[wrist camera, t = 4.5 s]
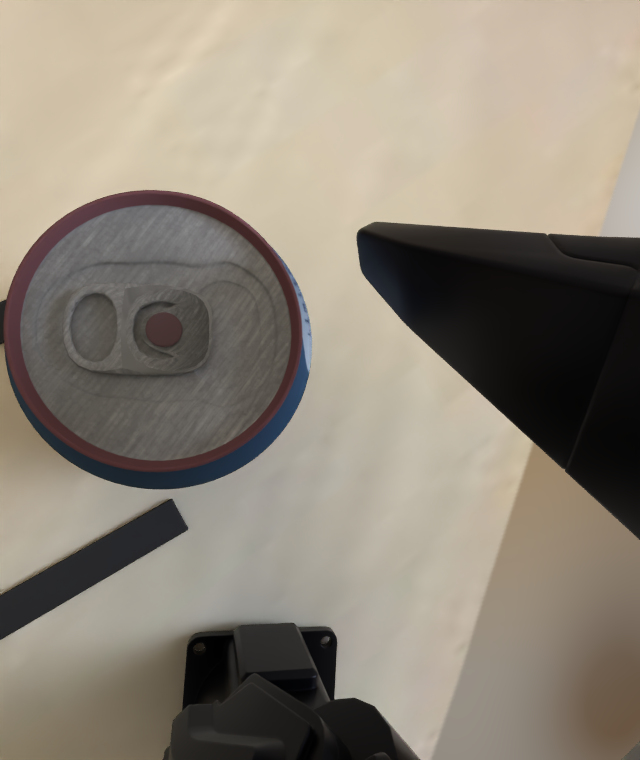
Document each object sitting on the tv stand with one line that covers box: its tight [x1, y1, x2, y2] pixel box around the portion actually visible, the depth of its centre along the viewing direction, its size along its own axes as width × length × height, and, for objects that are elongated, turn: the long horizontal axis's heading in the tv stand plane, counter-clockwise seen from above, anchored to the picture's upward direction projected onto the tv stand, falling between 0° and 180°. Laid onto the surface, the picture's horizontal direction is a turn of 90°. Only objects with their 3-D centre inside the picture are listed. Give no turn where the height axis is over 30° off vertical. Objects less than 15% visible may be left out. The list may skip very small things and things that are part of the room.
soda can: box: [4, 190, 312, 489], centre depth 15 cm, size 7×7×12 cm
